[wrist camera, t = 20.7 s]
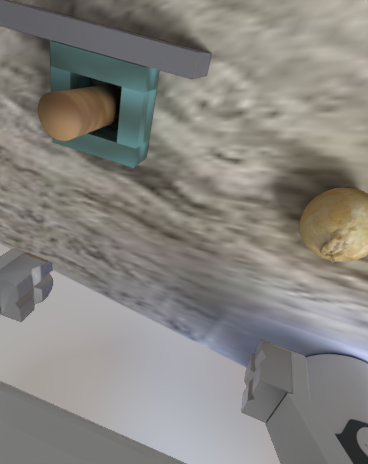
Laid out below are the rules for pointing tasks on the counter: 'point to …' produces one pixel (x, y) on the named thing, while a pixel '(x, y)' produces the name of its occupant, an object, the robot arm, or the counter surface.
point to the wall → (105, 40)
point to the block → (131, 106)
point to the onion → (337, 224)
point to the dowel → (79, 110)
